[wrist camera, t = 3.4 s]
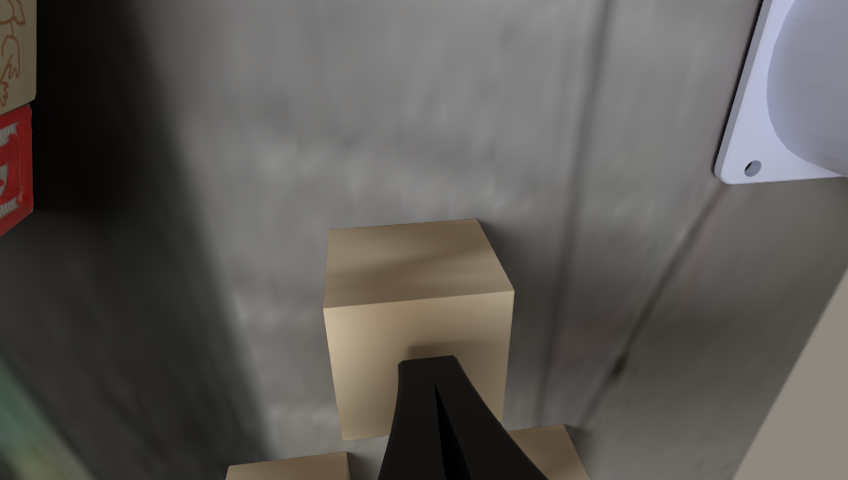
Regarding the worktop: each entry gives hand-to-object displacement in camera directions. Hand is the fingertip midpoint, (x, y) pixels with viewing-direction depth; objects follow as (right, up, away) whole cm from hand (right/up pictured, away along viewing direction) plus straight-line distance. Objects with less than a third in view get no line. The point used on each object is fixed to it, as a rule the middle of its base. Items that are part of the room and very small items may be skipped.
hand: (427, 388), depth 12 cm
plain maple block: (-1, +2, +4) cm, 5 cm away
